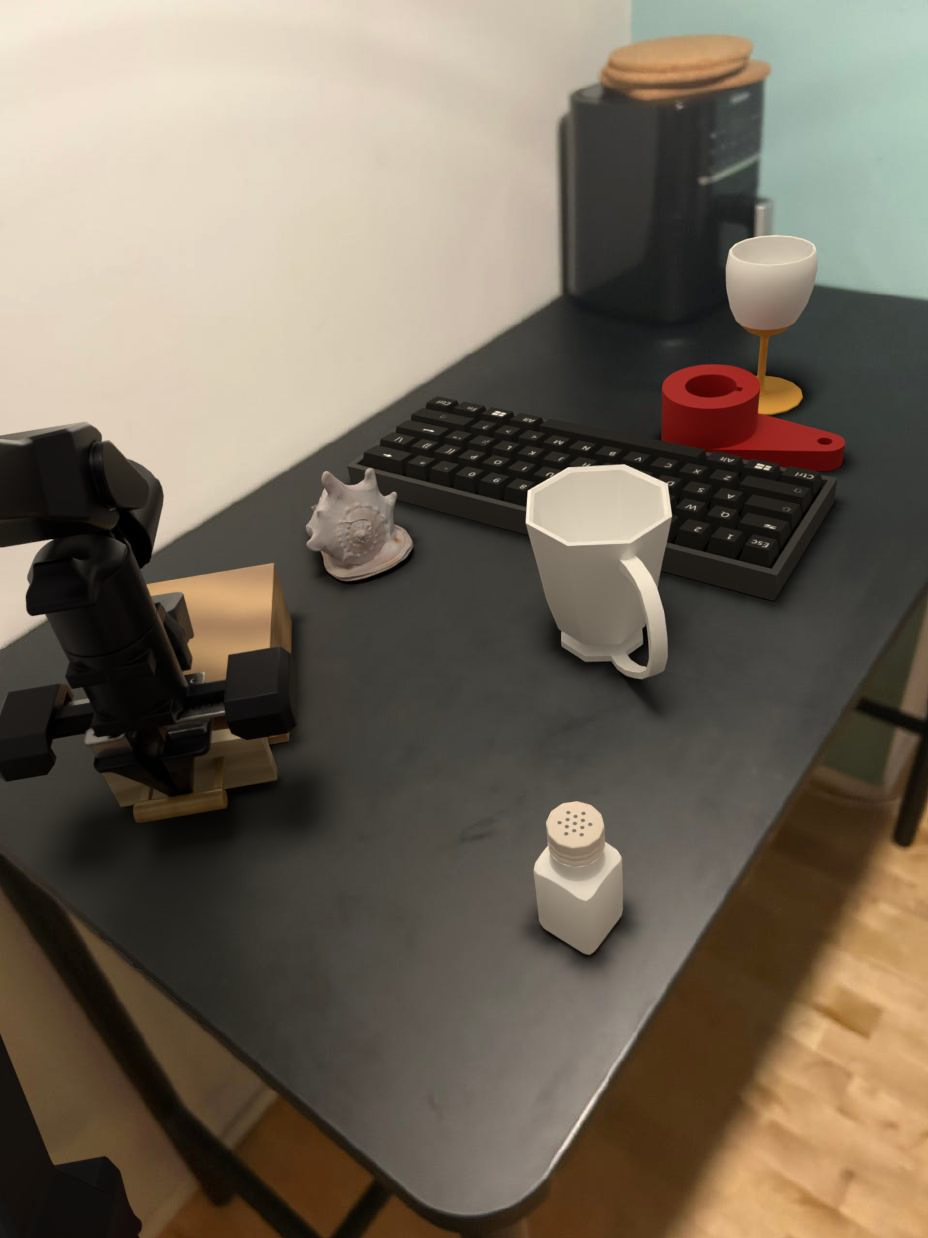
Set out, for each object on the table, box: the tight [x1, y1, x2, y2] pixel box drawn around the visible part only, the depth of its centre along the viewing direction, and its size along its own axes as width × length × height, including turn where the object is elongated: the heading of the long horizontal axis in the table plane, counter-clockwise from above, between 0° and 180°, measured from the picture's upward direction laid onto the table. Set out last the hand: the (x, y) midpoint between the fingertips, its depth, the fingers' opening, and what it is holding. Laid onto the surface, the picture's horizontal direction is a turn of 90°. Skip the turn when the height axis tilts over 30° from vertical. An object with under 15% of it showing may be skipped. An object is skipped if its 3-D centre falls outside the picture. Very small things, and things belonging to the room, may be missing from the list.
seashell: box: [305, 468, 414, 582], centre depth 90 cm, size 10×12×9 cm
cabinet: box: [146, 562, 293, 746], centre depth 77 cm, size 15×13×7 cm
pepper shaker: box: [533, 800, 624, 956], centre depth 56 cm, size 4×4×10 cm
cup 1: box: [526, 465, 672, 680], centre depth 73 cm, size 11×16×13 cm
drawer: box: [102, 715, 278, 824], centre depth 71 cm, size 18×11×5 cm, turn 7°
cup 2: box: [725, 234, 818, 416], centre depth 101 cm, size 9×9×16 cm
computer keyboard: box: [346, 395, 838, 602], centre depth 94 cm, size 45×16×4 cm, turn 57°
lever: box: [660, 363, 846, 472], centre depth 96 cm, size 18×9×7 cm, turn 62°
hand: (187, 796), depth 67 cm, fingers closed, pressing on drawer
